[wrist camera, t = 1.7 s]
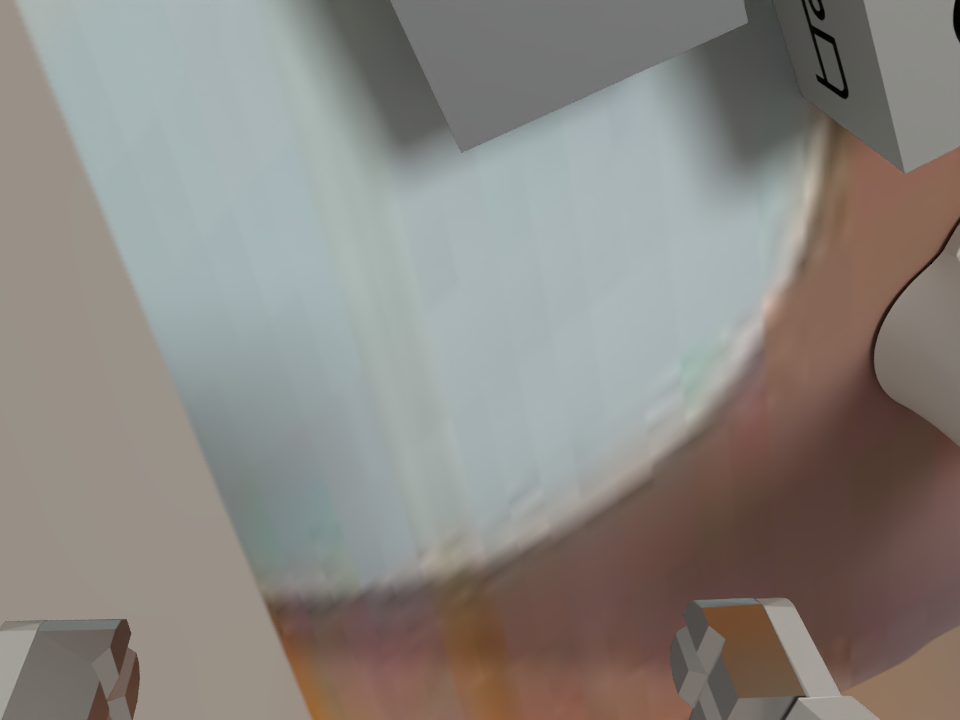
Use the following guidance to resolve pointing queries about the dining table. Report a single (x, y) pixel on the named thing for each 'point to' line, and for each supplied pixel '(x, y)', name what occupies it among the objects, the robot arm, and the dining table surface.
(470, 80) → the grey block
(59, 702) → the robot arm
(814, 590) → the dining table surface
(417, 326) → the dining table surface
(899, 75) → the icon cube
